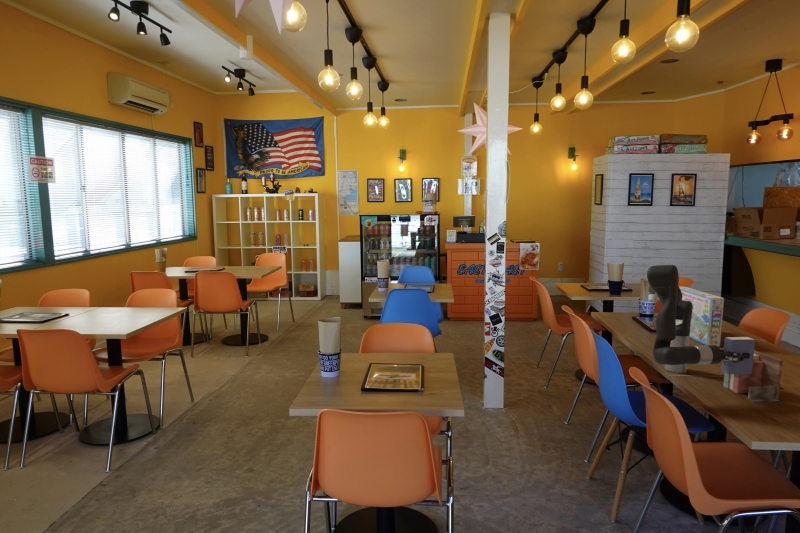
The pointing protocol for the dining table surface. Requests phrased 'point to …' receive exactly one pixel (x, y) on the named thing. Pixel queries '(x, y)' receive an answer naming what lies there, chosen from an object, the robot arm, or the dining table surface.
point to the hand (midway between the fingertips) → (744, 354)
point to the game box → (704, 316)
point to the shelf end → (758, 379)
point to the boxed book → (739, 347)
